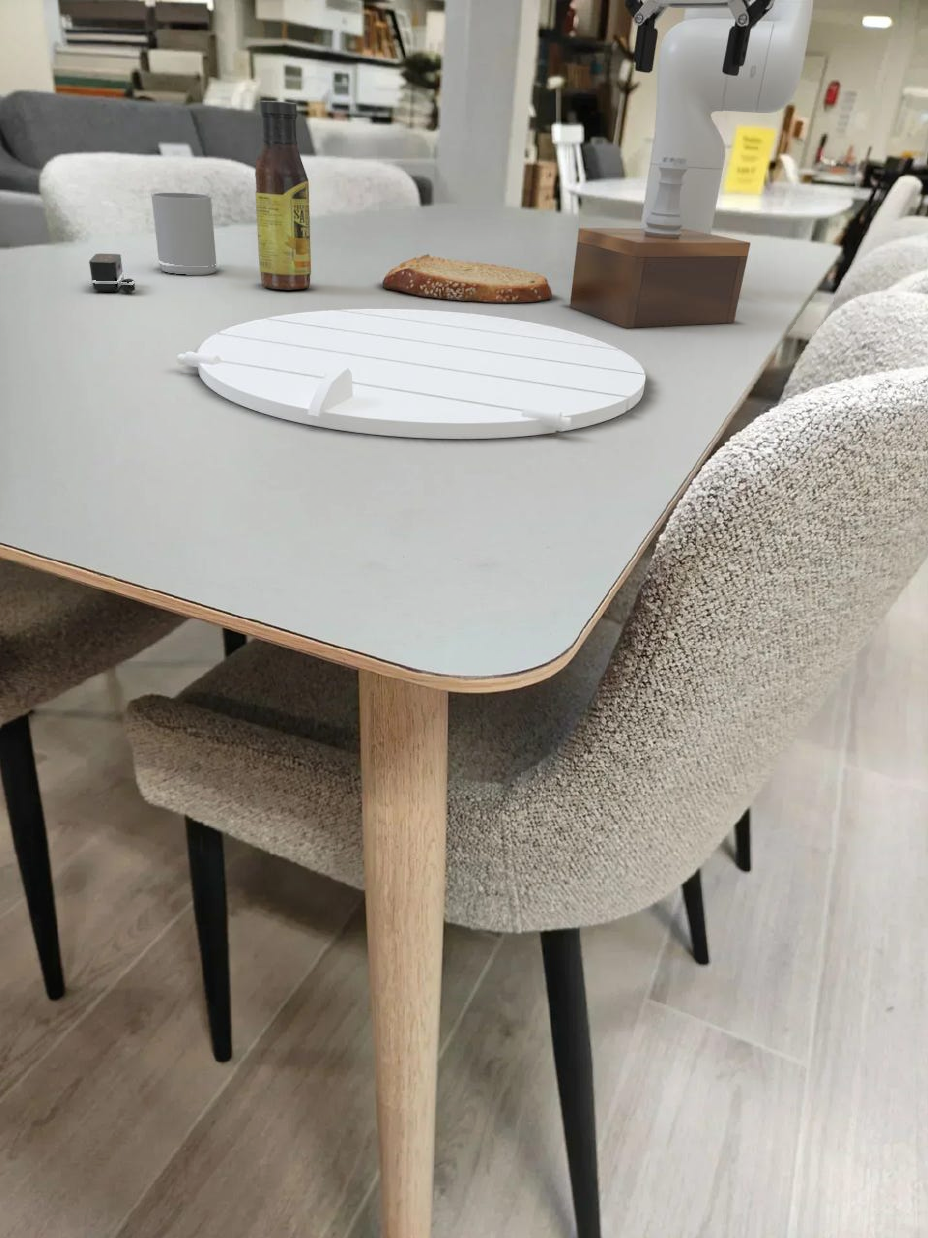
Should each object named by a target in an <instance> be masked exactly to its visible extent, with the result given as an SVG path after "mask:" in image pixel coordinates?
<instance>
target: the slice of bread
mask: <svg viewBox="0 0 928 1238" xmlns="http://www.w3.org/2000/svg"><path fill="white" fill-rule="evenodd" d="M381 284H382V287H383V288H385V289H386V290H392V291H398V292H403V293H406V294H410V295H413V296H418V297H423V298H424V297H425V298H434V299H441V300H449V301H461V302H481V303H495V304H496V303H497V304H499V303H503V304H504V303H509V304H510V303H514V304H516V303H532V302H533V303H534V302H540V301H545V300H549V299H552V298H553V292H552V289H551V287H550V285H549V282H548V279H547V277H545V276H543V275H542V274H540V273H538V272H533V271H529V270H523V269H519V268H512V267H507V266H504V265H496V264H489V263H483V262H472V261H462V260H457V259H456V260H455V259H447V258H442V257H439V256H430V254H429V253H428V254H424V255H422V256H420V257H417V256H416V257H413V258H412V259H409V260H406V261H403V262H402V263H400V264H399V265H397V266H395V267H394V268H392V269H390V270H389V271H388V273H387V274H386V275H385V276H384V278H383V280H382V283H381Z"/></svg>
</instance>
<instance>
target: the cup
mask: <svg viewBox="0 0 928 1238" xmlns="http://www.w3.org/2000/svg"><path fill="white" fill-rule="evenodd" d="M150 196H151V203H152V204H151V205H152V213H153V214H152V215H153V222H154V231H155V239H156V240H155V241H156V247H157V256H158V261H159V260H160V261H162V262H164V263H169V264H174V265H183V266H208V267H173V266H166V265H162V264H160V263H159V262H158V264H159V269H160V270H161V269H162V270H164V271H167V272H171V273H177V274H186V275H185V276H207V275H211V274H214V273H215V272H216V271H217V255H216V254H217V253H216V241H215V231H214V218H213V217H214V216H213V206H212V205H213V204H212V196H211V195H207V194H199V193H190V192H189V193H188V192H156V193H151V195H150ZM215 264H216V265H215ZM212 265H213V266H212ZM162 270H161V271H162Z"/></svg>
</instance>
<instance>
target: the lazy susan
mask: <svg viewBox="0 0 928 1238" xmlns="http://www.w3.org/2000/svg"><path fill="white" fill-rule="evenodd" d="M176 361H177V363H178V364H179V365H181V366H186V367H187V366H189V367H194V368H197V370H198V375H199V377H200V378H201V380H202V382H203V383H204V384H205V385H206V386H207V387H208V388H209V389H211V390H212V391H213V392H215V393H216V394H218V395H219V396H221V397H222V398H225V399H226V400H228V401H231V402H232V403H234V404H236V405H239V406H242V407H245V408H246V409H250V410H251V411H255V412H258V413H261V414H264V415H268V416H270V417H271V416H272V417H275V418H279V419H282V420H285V421H289V422H295V423H299V424H302V425H308V426H313V427H317V428H323V429H328V430H329V429H330V430H337V431H343V432H350V433H358V434H364V435H376V436H386V437H397V438H412V439H413V438H414V439H435V440H477V439H478V440H482V439H483V440H485V439H487V440H489V439H508V438H519V437H522V438H523V437H529V436H531V437H532V436H539V435H540V436H541V435H547V434H549V435H550V434H554V433H556V432H561V433H562V432H567V431H572V430H578V429H581V428H586V427H590V426H593V425H597V424H601V423H603V422H606V421H609V420H612V419H614V418H616V417H619V416H621V415H624V414H625V413H626V412H628V411H630V410H631V409H632V408H634V407H635V406H637V404H638V403H639V402H640V401H641V399H642V398H643V395H644V390H645V385H646V379H647V378H646V372H645V369H644V368H643V366H642V365H641V364H640V363H639V361H637V360H636V359H635V358H634V357H632V356H631V355H630V354H628V353H627V352H625V351H623V350H620V349H619V348H617V347H615V346H613V345H611V344H609V343H606V342H604V341H601V340H598V339H596V338H593V337H591V336H587V335H584V334H581V333H578V332H574V331H570V330H567V329H563V328H559V327H556V326H555V327H554V326H550V325H546V324H541V323H536V322H531V321H525V320H519V319H513V318H509V317H508V318H507V317H501V316H500V317H499V316H493V315H486V314H478V313H477V314H475V313H468V312H467V313H466V312H457V311H443V310H429V309H410V308H409V309H407V308H349V309H348V308H347V309H338V310H336V309H329V310H327V309H326V310H316V311H305V312H297V313H288V314H282V315H275V316H268V317H265V318H260V319H254V320H250V321H246V322H243V323H240V324H236V325H233V326H230V327H228V328H227V327H226V328H225V329H222V330H219V331H218V332H217V333H214V334H213V335H211V336H209V337H208V338H206V339H205V340H204V341H203V342H202V343H201V344H200V346H199V347H198V348H197V352H196V351H191V350H189V351H186V352H185V353H179V354H178V355H177V357H176Z"/></svg>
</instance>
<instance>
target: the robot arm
mask: <svg viewBox="0 0 928 1238" xmlns="http://www.w3.org/2000/svg"><path fill="white" fill-rule="evenodd" d="M624 6H625V8H626V9H627V11H628V12H629V14H630V16H631V17H632V19H633V23H634V24H635V26H637V29H636V37H635V43H634V52H633V62H634V63H635V64H634V65H635V66H634V69H635V70H634V71H636V72H639V73H645V74H650V73H651V72H653V69H654V63H655V62H654V61H655V55H656V49H657V43H658V42H657V41H658V34H659V31H658V28H656V27H655V26H656V23H657V21H658V20H659V19H660V18H661V16H662V15H663V14H664V13H665V12H666V10H667V9H668V8H669V7H670V8H674V9H685V10H684V15H683V20H682V21H681V22H678V23H676V24H675V25H674V26H672V27H670V29H669V30H668V31H667V32H666V34H665V35H664V37H663V38H662V41H661V43H660V46H659V51H658V57H657V58H658V60H657V73H656V74H657V77H656V78H657V79H656V80H657V81H656V110H655V121H654V122H655V123H654V131H653V139H652V145H651V146H652V148H651V154H650V161H649V168H648V175H647V181H646V188H645V193H644V194H645V195H644V200H643V208H642V214H641V222H640V228H639V229H645V228H647V227H648V226H647V224H646V222H645V221H646V219H647V217H648V216H650V215H651V211H652V210H653V208H654V205H655V202H656V199H657V195H658V191H659V183H658V181H659V180H660V179H661V172H660V170H659V165H660V164H661V163H662V162H663V157H668V158H674V160H675V158H677V159H678V158H683V159H686V163H685V164H686V166H687V168H688V170H687V171H686V172H685V173H684V174H683V177H682V182H683V185H682V186H681V190H680V203H679V208H680V213H681V215H680V217H681V219H682V220H683V226H682V227H681V228H680V229H688V230H692V231H697V232H702V233H707V234H712V231H713V224H714V219H715V213H716V209H717V204H718V198H719V192H720V187H721V184H722V183H721V182H722V177H723V173H724V172H723V171H724V167H725V161H726V147H725V142H724V139H723V136H722V135H721V133H720V131H719V129H718V127H717V125H716V124H715V123H714V120H713V117H712V114H713V113H714V112H715V113H716V112H724V111H725V112H736V113H737V112H739V113H754V114H772V113H776V112H780V111H781V110H783V109H784V108H786V107H787V106H788V105H789V103H790V102H791V100H792V99H793V97H794V96H795V93H796V92H797V90H798V88H799V87H798V86H799V83H800V80H801V78H802V77H801V76H802V73H803V68H804V64H805V57H806V51H807V46H808V41H809V36H810V29H811V24H812V19H813V18H812V17H813V8H814V0H645V2H643V0H625V1H624Z"/></svg>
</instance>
